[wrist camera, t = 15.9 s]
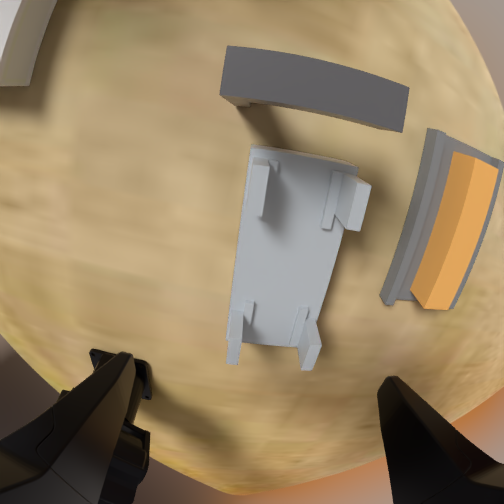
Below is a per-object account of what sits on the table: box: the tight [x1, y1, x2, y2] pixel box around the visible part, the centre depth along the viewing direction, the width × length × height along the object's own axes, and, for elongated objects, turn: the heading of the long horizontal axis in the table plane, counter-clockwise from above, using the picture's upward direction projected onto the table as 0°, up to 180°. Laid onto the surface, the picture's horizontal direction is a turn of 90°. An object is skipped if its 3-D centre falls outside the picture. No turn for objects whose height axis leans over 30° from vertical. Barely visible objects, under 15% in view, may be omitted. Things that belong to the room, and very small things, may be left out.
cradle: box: [226, 144, 372, 371], centre depth 19 cm, size 14×6×5 cm, turn 172°
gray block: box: [220, 46, 409, 133], centre depth 13 cm, size 2×7×8 cm, turn 82°
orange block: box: [410, 151, 499, 310], centre depth 18 cm, size 12×3×3 cm, turn 172°
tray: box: [380, 128, 504, 309], centre depth 19 cm, size 14×8×1 cm, turn 172°
